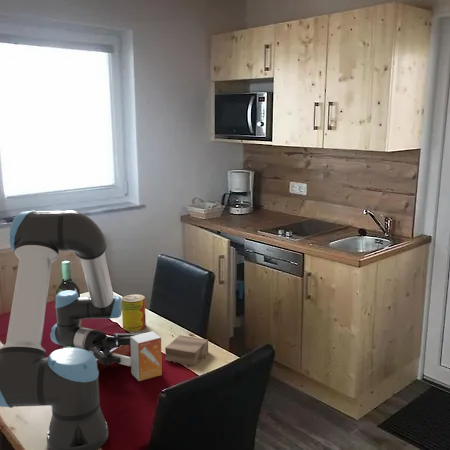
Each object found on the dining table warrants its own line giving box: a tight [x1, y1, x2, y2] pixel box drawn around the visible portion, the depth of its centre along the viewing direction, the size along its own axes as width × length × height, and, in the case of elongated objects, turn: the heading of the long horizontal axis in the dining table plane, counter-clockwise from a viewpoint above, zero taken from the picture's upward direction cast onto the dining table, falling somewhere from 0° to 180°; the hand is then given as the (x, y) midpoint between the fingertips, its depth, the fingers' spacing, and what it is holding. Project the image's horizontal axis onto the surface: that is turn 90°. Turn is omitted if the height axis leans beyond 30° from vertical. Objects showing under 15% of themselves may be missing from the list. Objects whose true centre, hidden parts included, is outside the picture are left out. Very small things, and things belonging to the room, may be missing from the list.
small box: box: [129, 330, 163, 382], centre depth 165 cm, size 8×6×13 cm
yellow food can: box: [121, 293, 147, 332], centre depth 203 cm, size 9×9×12 cm
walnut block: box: [164, 334, 209, 367], centre depth 179 cm, size 11×11×5 cm
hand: (143, 352), depth 166 cm, fingers open, 13 cm apart
